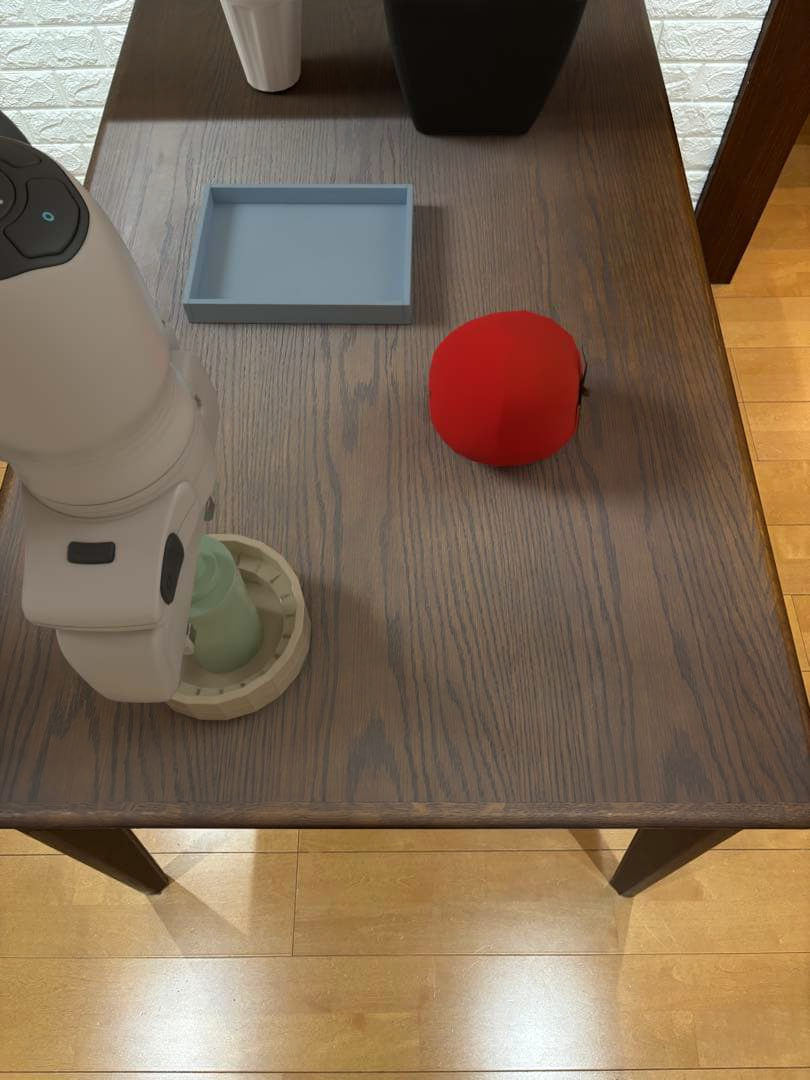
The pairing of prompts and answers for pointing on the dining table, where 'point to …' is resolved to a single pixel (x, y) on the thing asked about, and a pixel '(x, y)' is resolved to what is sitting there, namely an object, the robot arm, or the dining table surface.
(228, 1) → the cup
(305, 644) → the bowl
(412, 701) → the dining table surface
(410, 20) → the flower pot
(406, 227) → the tray
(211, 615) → the bottle
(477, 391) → the tomato
